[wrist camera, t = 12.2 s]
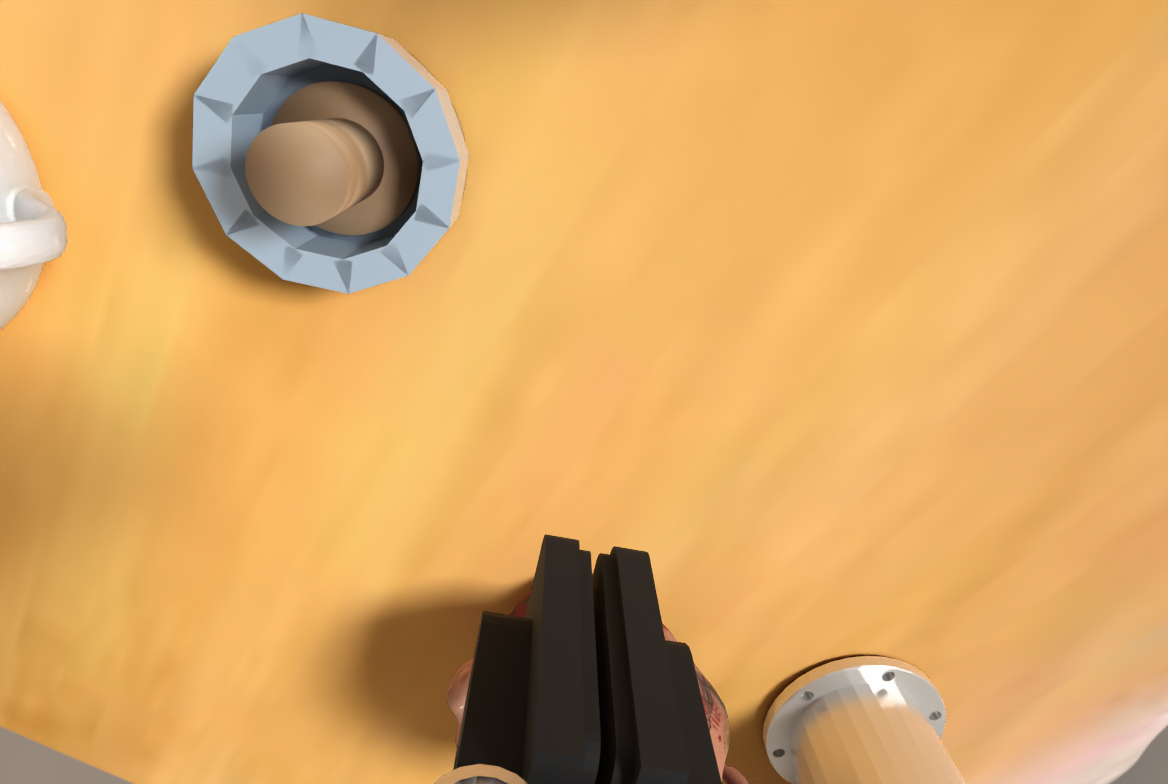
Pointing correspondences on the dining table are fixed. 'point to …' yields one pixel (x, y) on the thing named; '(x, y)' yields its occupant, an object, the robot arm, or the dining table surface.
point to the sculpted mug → (709, 696)
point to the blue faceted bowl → (248, 106)
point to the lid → (335, 160)
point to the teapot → (23, 221)
